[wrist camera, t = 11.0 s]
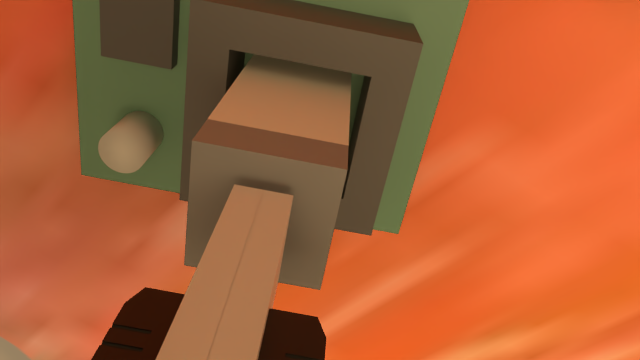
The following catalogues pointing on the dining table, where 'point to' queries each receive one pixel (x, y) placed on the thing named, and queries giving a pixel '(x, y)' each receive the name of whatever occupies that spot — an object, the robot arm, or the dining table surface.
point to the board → (230, 59)
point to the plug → (276, 158)
